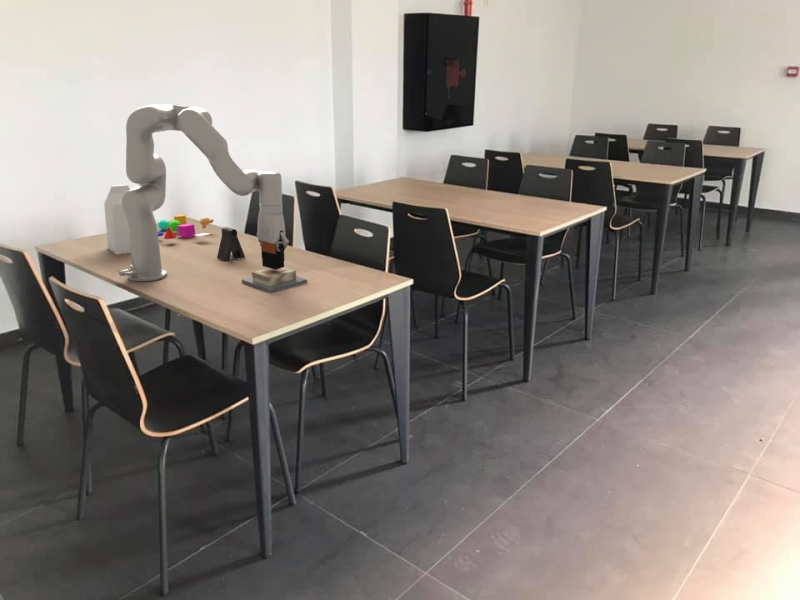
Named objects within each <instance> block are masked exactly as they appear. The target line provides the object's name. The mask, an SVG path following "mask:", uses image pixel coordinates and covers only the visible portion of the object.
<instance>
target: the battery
mask: <svg viewBox="0 0 800 600" xmlns="http://www.w3.org/2000/svg"><path fill="white" fill-rule="evenodd" d="M278 242H279V241H278ZM261 244H262V252H261V260H262V262H261V265H262V267H264V268H266V269H267V268H271V269H275V270H277V269H280V268H283V267H285V260H284V261H283V262H279V263H277V262H276V251H277V249H276V244H270V243H267V242H263V241H262V242H261ZM278 245H279V247H280V246H281V244H278Z"/></svg>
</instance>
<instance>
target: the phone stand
mask: <svg viewBox="0 0 800 600" xmlns="http://www.w3.org/2000/svg"><path fill="white" fill-rule="evenodd" d="M217 251H218V252H217V256H216V258H218V259H217V260H220V259H221V261H223V260H224V262H226V261H227V262H230V260H231V261H235V260H240V259H244V258H245V257H246V254H245V253H244V250H243V248H242V244H241V242H240V241H239V237H238V231H237V230H236V229H235V228H231V227H227V226H225V227H224V226H223V227H222V228H221V238H220V243H219V247H218V250H217ZM243 257H244V258H243ZM239 258H240V259H239Z"/></svg>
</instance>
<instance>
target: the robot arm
mask: <svg viewBox="0 0 800 600" xmlns="http://www.w3.org/2000/svg"><path fill="white" fill-rule="evenodd" d="M166 131H177V132H178V131H179V132H182V133H183V134H184V135H185V136H186V138H188V139H189V141H190V142H191V143H192V144H193V145H194V146H196V148H198V150H199V151H200V152H201V153H202V154H203V155H204V156H205V157H206V158H207V160H208V163H209V165H210V167H211V168H212V169H213V171H214V173H215V175H216V176H217V177H218V178H219V180H220V181H221V182H222V183H223V184H224V185H225V186H226V187H227V188H228V189H229V190H230V191H231V192H233V194H235V195H237V196H239V197H240V196H241V197H245V196H248V195H250V194H252V193H255V192H258V197H259V198H258V199H259V212H258V216H257V228H256V229H257V232H256V233H255V235H256V238H258V242H259V246H260V249H261V253H262V244H261V242H262V241H263V242H267V243H270V244H276V249H277V251H276V262H277V263H279V262H283V261H284V262H285V250H286V248H287V247H288V245H289V243H290V241H289V239H288V237H287V236H286V225H285V219H284V214H283V187H282V186H283V185H282V174H281V173H279V172H278V171H273V170H272V171H271V170H269V171H268V170H267V171H263V170H262V171H261V170H256V169H249V168H248V169H244V170H242V169H241V168H240V167H239V166H238V164H236V162H235V161H234V160H233V158H232V157H231V154H230V153H229V146H228V141H227V140H226V138H225V137H224V136H223V135H222V134H220V132H219V131H218V130H217V129H216V128H215V127H214V126H213V118H212V115H211V114H210V112H209V111H208V110H206V109H204V108H202V107H200V106H199V107H198V106H188V105H187V106H186V105H180V104H179V105H177V104H170V103H169V104H168V103H165V104H163V103H161V104H150V105H145V106H142V107H138V108H136V109H135V110H133V111H132V112H131V113H130V114H129V116H128V117H127V120H126V126H125V132H126V133H125V134H126V137H125V138H126V139H125V140H126V143H125V145H126V147H125V172H126V174H125V175H126V176H127V179H128V180H129V181H130V182H131V183H132V184H133V183H134V184H136V185H138V186H135V187H133V188H130V190H129V191H127V192H126V193H125V194H124V196H123V198H122V208H123V211H124V214H125V218H126V222H127V228H128V235H129V243H130V251H131V253H130V257H131V259H130V260H131V264H130V265H129V266H128V268H127V269H123V270H122V269H121V270H119V271H118V274H119V277H122V276H123V277H125V276H127V277H128V279H129V280H130V281H135V282H153V281H158V280H162V279H164V278H165V277H167V274H168V273H167V270H165V269H162V268H163V267H162V259H161V252H160V241H159V237H158V232H159V231H158V223H157V220H156V219H155V217H154V213H153V212H155V211H157V210H158V209H161V208H162V206H163V205H164V203H165V201H166V192H167V190H166V187H167V168H166V167H167V166H166V164H165V161H164V160H163V158H162V157H161V156H160V155H158V153H155V142H154V137H153V134H154V133H160V132H166ZM278 241H279V242H278ZM278 244H281V246H280V247H279V245H278Z"/></svg>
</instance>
